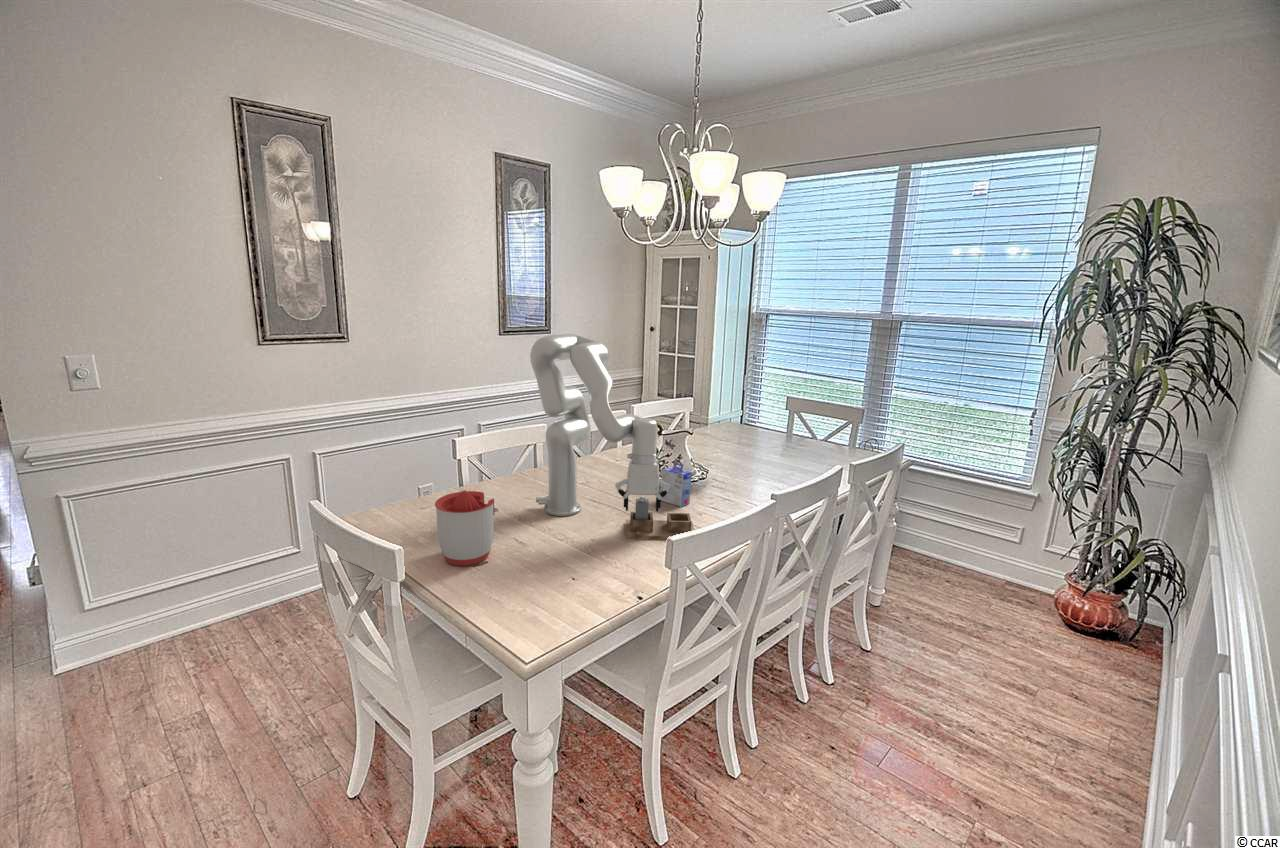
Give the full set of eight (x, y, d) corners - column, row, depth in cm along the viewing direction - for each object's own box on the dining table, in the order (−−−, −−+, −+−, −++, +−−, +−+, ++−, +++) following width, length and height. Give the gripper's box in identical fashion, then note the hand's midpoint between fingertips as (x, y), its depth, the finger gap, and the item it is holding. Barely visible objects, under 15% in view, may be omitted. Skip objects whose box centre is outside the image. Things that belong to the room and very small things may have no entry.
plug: (635, 529, 177) (636, 499, 175) (634, 524, 181) (636, 495, 179) (647, 530, 177) (648, 500, 175) (647, 525, 181) (648, 495, 179)
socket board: (625, 538, 174) (625, 523, 172) (625, 522, 185) (626, 508, 184) (696, 540, 174) (697, 525, 173) (691, 524, 186) (692, 510, 185)
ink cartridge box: (690, 503, 204) (692, 465, 201) (681, 507, 200) (684, 469, 197) (668, 496, 210) (670, 459, 207) (659, 500, 206) (661, 463, 203)
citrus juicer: (511, 557, 159) (510, 490, 155) (453, 576, 148) (450, 505, 143) (484, 538, 170) (482, 476, 166) (428, 555, 159) (424, 488, 154)
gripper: (615, 460, 170) (614, 513, 174) (672, 462, 170) (669, 514, 174) (616, 453, 177) (615, 504, 181) (670, 455, 178) (668, 505, 182)
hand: (641, 509), depth 178 cm, fingers open, 9 cm apart
